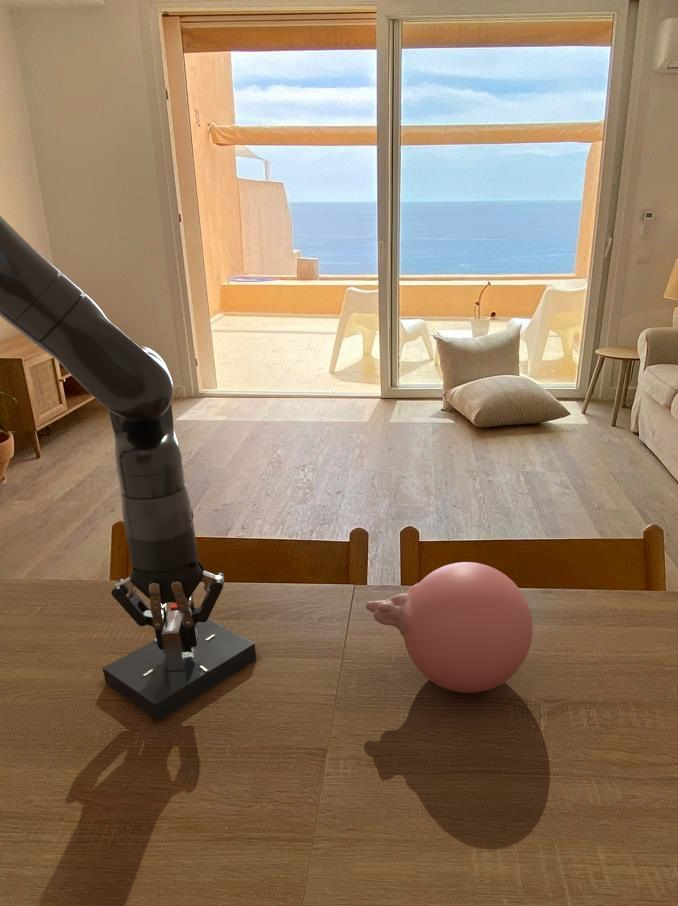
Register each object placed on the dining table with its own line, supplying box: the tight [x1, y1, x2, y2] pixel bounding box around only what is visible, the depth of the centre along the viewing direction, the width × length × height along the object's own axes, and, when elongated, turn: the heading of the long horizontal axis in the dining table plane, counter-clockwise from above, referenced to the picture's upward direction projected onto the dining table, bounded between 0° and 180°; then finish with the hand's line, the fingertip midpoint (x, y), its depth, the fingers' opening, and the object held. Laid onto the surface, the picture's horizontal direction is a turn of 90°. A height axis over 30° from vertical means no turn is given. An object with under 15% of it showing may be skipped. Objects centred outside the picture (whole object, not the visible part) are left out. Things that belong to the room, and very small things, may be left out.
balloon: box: [365, 561, 534, 694], centre depth 84 cm, size 15×20×15 cm
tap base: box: [102, 618, 257, 722], centre depth 88 cm, size 15×11×3 cm
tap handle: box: [161, 603, 189, 671], centre depth 86 cm, size 6×2×6 cm, turn 6°
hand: (179, 648), depth 87 cm, fingers closed on tap handle, 2 cm apart
